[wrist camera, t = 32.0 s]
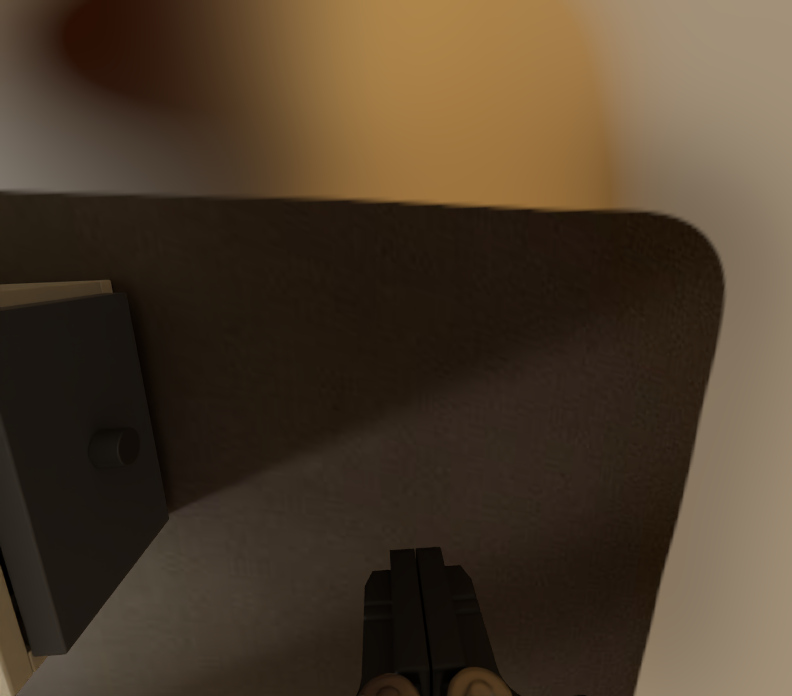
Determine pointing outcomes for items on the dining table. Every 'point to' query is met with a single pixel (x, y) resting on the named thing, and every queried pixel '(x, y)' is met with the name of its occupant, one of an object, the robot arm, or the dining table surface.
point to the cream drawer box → (3, 629)
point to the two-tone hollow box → (72, 462)
